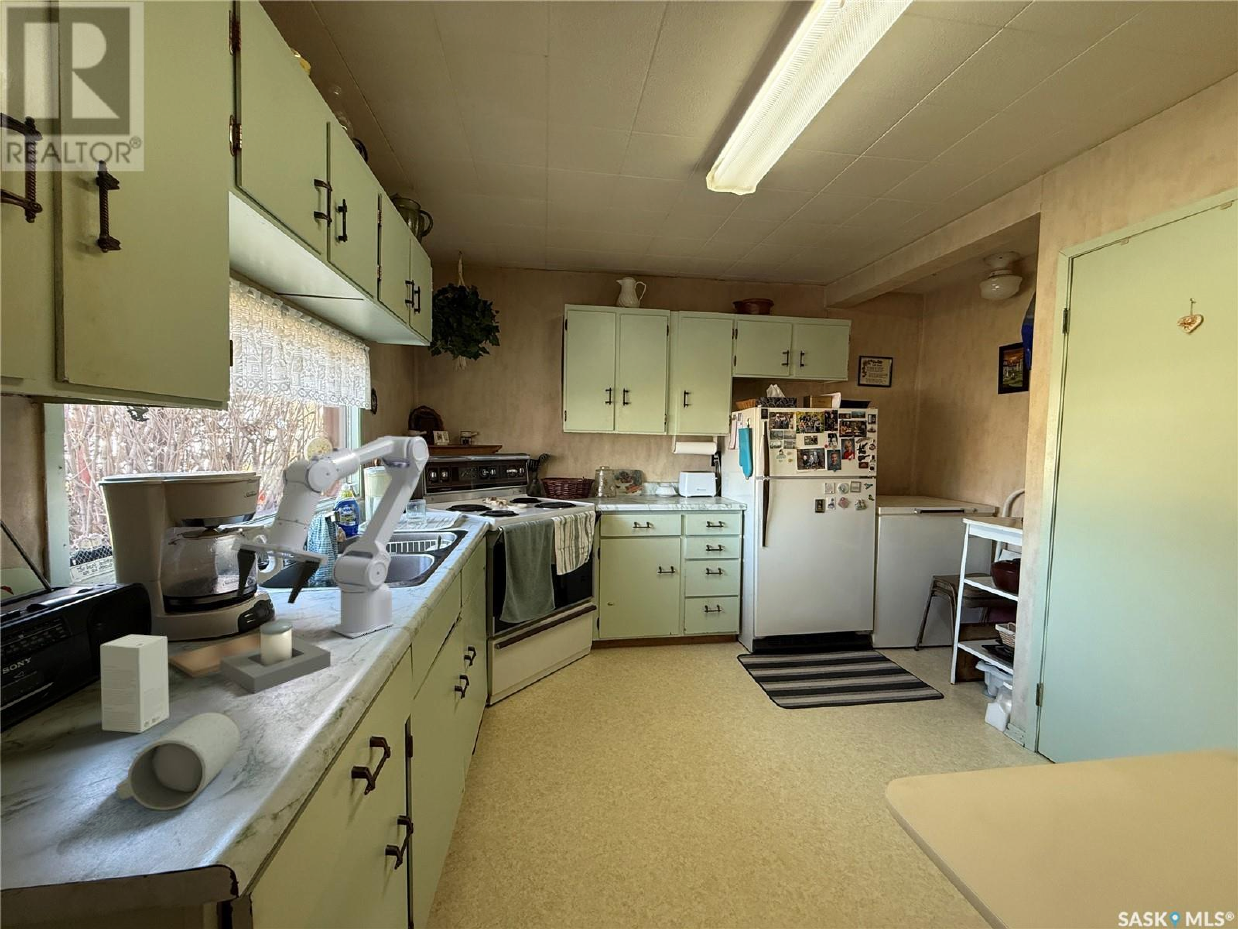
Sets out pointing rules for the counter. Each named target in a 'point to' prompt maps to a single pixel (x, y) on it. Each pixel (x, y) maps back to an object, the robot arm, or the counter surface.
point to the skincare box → (134, 683)
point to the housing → (274, 666)
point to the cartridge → (275, 642)
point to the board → (214, 655)
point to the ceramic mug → (181, 762)
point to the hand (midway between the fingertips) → (265, 600)
